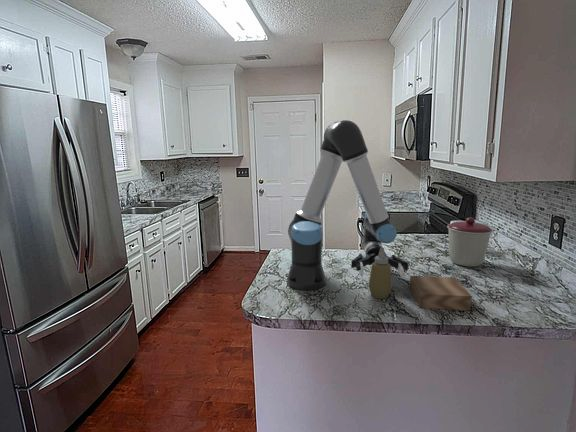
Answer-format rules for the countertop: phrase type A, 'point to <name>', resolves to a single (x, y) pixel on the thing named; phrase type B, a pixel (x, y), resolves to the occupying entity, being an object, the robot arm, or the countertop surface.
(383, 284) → the squeeze bottle
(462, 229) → the canister
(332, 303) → the countertop surface
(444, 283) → the walnut plinth
